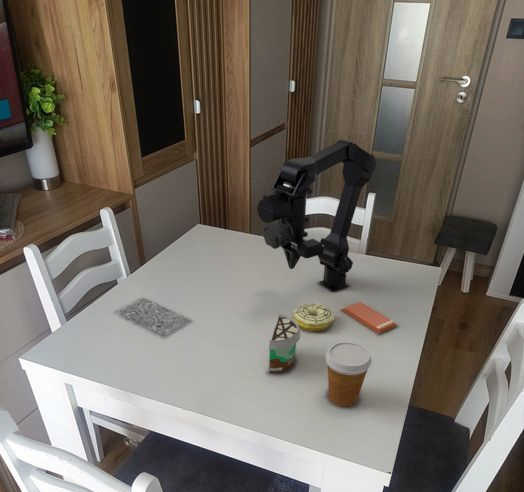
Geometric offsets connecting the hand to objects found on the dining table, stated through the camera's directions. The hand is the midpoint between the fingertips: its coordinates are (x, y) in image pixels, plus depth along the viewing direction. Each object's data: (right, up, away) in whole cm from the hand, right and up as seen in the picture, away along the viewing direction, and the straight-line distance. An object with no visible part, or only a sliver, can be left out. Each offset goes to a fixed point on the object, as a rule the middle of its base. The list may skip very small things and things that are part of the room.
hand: (291, 268), depth 132 cm
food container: (-2, -25, -15) cm, 29 cm away
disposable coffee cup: (+10, -32, -25) cm, 42 cm away
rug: (-38, -13, +1) cm, 41 cm away
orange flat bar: (+21, -14, +2) cm, 25 cm away
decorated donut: (+6, -15, 0) cm, 16 cm away
